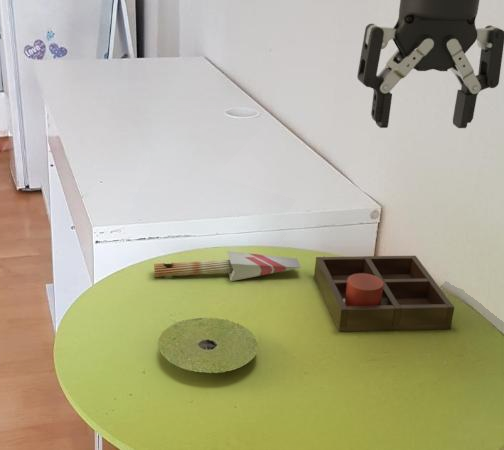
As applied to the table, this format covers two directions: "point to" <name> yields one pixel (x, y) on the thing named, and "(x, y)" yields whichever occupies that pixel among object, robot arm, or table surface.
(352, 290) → the red cylinder
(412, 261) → the grid
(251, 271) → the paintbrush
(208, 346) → the green disc
